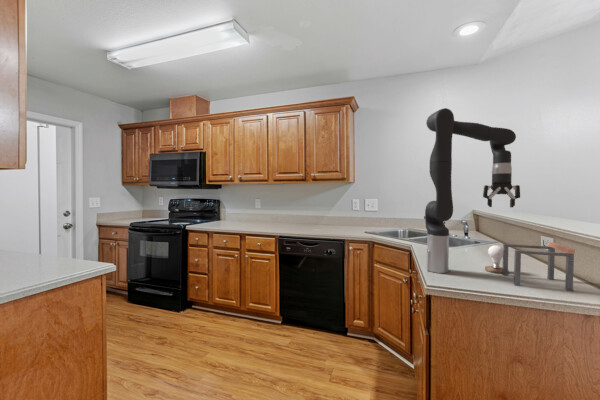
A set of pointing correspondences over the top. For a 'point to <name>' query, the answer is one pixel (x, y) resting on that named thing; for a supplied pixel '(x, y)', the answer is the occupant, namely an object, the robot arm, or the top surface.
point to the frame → (550, 253)
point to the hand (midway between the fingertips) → (500, 207)
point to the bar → (561, 248)
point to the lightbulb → (496, 255)
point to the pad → (493, 269)
